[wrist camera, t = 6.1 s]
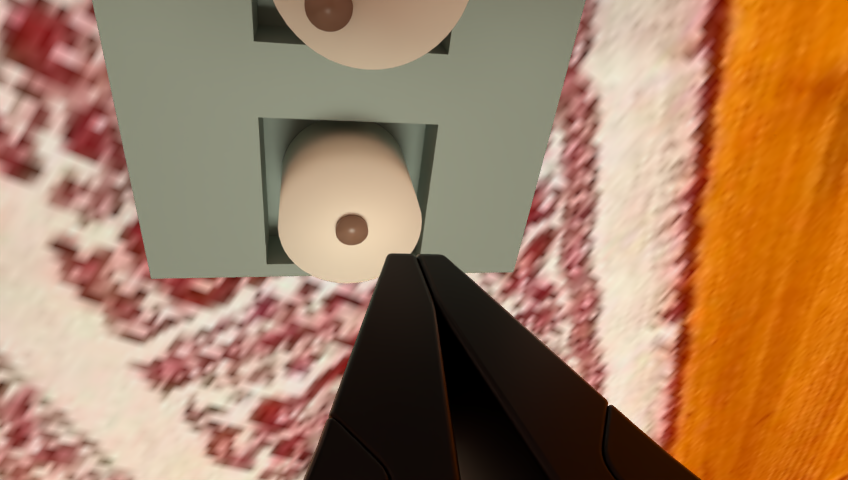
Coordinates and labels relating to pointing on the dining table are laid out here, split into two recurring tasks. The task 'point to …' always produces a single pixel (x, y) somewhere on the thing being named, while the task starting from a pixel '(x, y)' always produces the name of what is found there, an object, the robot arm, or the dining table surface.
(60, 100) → the dining table surface
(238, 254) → the board
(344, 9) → the button two
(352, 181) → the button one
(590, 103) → the dining table surface
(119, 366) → the dining table surface
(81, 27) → the dining table surface
